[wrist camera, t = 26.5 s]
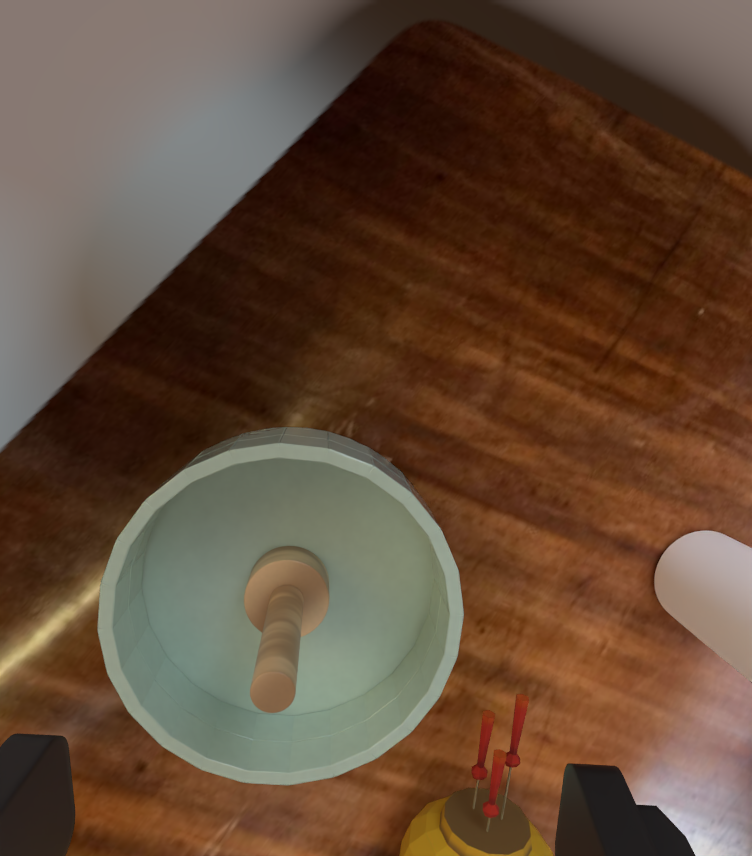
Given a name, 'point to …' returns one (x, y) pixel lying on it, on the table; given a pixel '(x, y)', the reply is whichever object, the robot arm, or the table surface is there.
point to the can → (710, 593)
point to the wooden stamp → (283, 619)
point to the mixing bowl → (239, 639)
